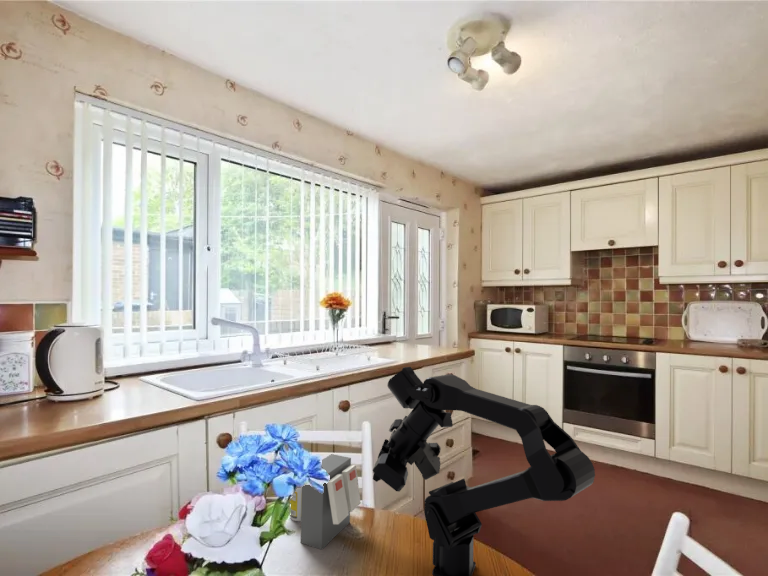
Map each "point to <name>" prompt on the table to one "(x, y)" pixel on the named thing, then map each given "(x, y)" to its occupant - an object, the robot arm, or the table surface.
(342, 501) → the block
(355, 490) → the block
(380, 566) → the table surface
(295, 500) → the supplement bottle
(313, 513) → the switch box
